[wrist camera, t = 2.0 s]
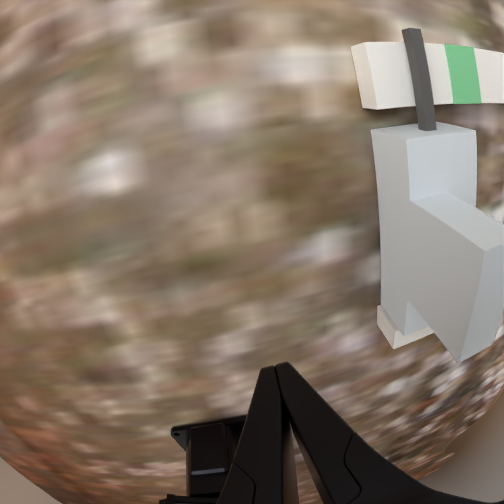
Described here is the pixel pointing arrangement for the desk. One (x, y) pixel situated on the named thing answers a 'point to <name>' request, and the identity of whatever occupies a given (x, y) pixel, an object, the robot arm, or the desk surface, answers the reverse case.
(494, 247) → the gauge plunger
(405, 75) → the gauge housing
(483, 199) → the desk surface
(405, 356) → the desk surface
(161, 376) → the desk surface
